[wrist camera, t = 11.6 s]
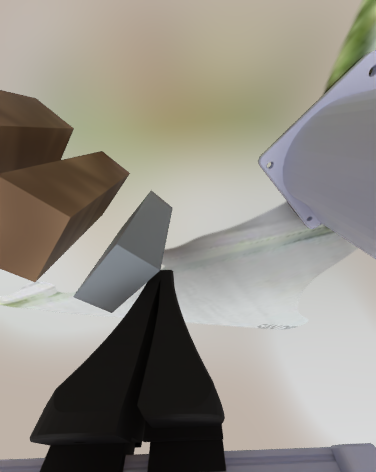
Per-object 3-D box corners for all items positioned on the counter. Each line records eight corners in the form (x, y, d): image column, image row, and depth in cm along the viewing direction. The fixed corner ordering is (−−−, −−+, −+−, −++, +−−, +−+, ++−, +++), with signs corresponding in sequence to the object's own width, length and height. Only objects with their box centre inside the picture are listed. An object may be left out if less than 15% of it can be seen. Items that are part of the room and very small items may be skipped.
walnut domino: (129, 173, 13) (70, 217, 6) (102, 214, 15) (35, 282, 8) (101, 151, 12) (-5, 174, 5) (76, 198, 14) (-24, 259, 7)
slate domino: (172, 207, 14) (160, 270, 8) (142, 240, 16) (111, 312, 10) (151, 190, 14) (116, 244, 7) (122, 227, 16) (73, 296, 9)
